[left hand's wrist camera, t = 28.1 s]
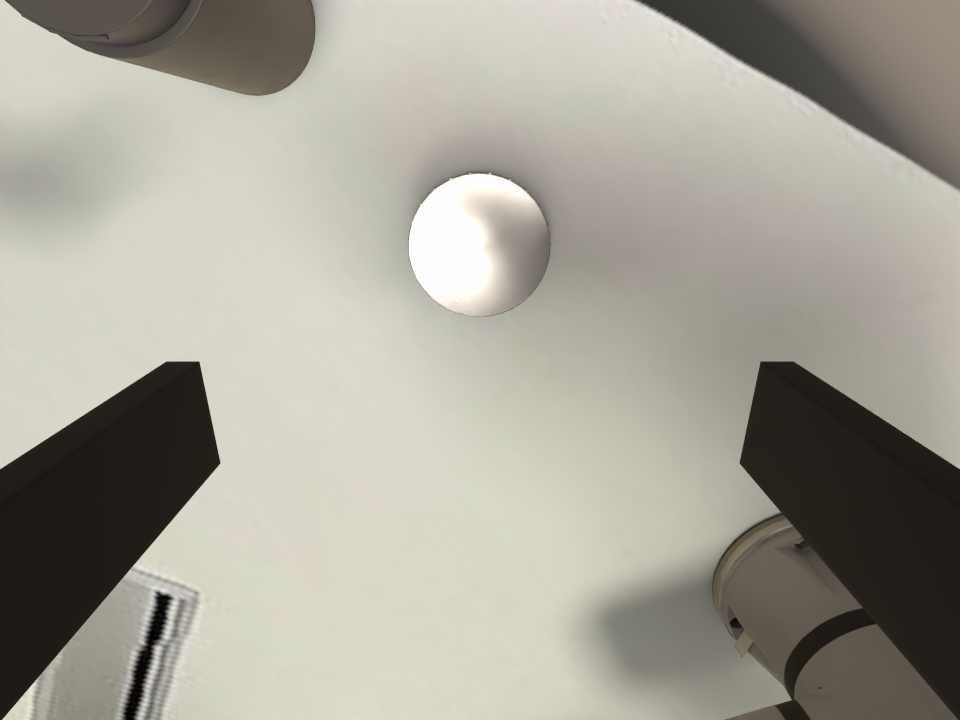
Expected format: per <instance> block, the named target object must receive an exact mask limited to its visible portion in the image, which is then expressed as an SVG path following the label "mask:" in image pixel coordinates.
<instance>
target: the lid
mask: <svg viewBox="0 0 960 720" xmlns="http://www.w3.org/2000/svg"><path fill="white" fill-rule="evenodd" d="M433 190H434V191H432V192H431V193H430V194H429V195H428V196H427V197H426V199H425V200H424V201H423V202H422V203H420V207H419V208H418V210H417V212H416V214H415V216H414V218H413V221H412V222H411V223H412V224H411V228H410V233H409V240H408V242H409V243H408V247H409V257H410V262H411V266H412V269H413V272H414V274H415V276H416V278H417V280H418V282H419V283H420V285H421V287H422V288H423V289H424V290H425V292H426V293H427V294H428V295H429V296H430V297H431V298H432V299H433V300H434V301H435V302H437V303H438V304H440V305H441V306H443V307H445V308H446V309H448V310H450V311H453V312H455V313H458V314H462V315H466V316H474V317H486V316H493V315H497V314H500V313H503V312H506V311H508V310H511V309H512V308H514V307H516V306H518V305H519V304H520V303H522V302H523V301H524V300H526V299H527V298H528V297H529V296H530V295H531V294H532V292H533V291H534V290H535V289H536V287H537V286H538V284H539V283H540V281H541V280H542V278H543V275H544V273H545V271H546V268H547V264H548V261H549V255H550V244H551V243H550V236H549V230H548V226H547V225H548V223H547V222H546V220H545V217H544V215H543V213H542V211H541V209H540V205H538V204H537V203H536V202H535V200H534V199H533V198H532V197H531V196H530V195H529V194H528V193H527V190H526V189H523V188H521V187H520V186H519V185H517V184H516V183H514V182H512V181H511V179H510V178H508V179H506V178H504V177H502V176H498V175H495V174H491V172H489V173H471V172H469V174H464V175H460V176H457V177H454V178H453V177H451V178H450V180H448V181H446V182H445V183H443V184H442V185H440V186H439V187H437V188H436V187H435V188H434V189H433Z"/></svg>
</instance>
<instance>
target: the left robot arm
mask: <svg viewBox="0 0 960 720" xmlns="http://www.w3.org/2000/svg"><path fill="white" fill-rule="evenodd" d="M219 464H220V459H219V454H218V449H217V445H216V440H215V435H214V430H213V425H212V420H211V416H210V411H209V406H208V401H207V396H206V392H205V387H204V382H203V377H202V372H201V367H200V363H199V362H165V363H164V364H162V365H161V366H159V367H157V368H156V369H154V370H153V371H151V372H150V373H148V374H147V375H145V376H144V377H142V378H141V379H139V380H137V381H136V382H134V383H133V384H131V385H130V386H128V387H127V388H125V389H124V390H122V391H120V392H119V393H117V394H116V395H114V396H113V397H111V398H110V399H108V400H107V401H105V402H103V403H102V404H100V405H99V406H97V407H96V408H94V409H93V410H91V411H90V412H88V413H87V414H85V415H83V416H82V417H80V418H79V419H77V420H76V421H74V422H73V423H71V424H70V425H68V426H66V427H65V428H63V429H62V430H60V431H59V432H57V433H56V434H54V435H53V436H51V437H49V438H48V439H46V440H45V441H43V442H42V443H40V444H39V445H37V446H36V447H34V448H33V449H31V450H29V451H28V452H26V453H25V454H23V455H22V456H20V457H19V458H17V459H16V460H14V461H12V462H11V463H9V464H8V465H6V466H5V467H3V468H2V469H0V720H2V719H3V718H4V717H5V716H6V714H7V713H8V712H9V711H10V710H11V709H12V707H13V706H14V705H15V704H16V703H17V701H18V700H19V699H20V698H21V697H22V696H23V694H24V693H25V692H26V691H27V690H28V689H29V687H30V686H31V685H32V684H33V683H34V682H35V680H36V679H37V678H38V677H39V676H40V674H41V673H42V672H43V671H44V670H45V669H46V667H47V666H48V665H49V664H50V663H51V662H52V660H53V659H54V658H55V657H56V656H57V655H58V653H59V652H60V651H61V650H62V649H63V647H64V646H65V645H66V644H67V643H68V642H69V640H70V639H71V638H72V637H73V636H74V635H75V633H76V632H77V631H78V630H79V629H80V628H81V626H82V625H83V624H84V623H85V622H86V620H87V619H88V618H89V617H90V616H91V615H92V613H93V612H94V611H95V610H96V609H97V608H98V606H99V605H100V604H101V603H102V602H103V601H104V599H105V598H106V597H107V596H108V595H109V593H110V592H111V591H112V590H113V589H114V588H115V586H116V585H117V584H118V583H119V582H120V581H121V579H122V578H123V577H124V576H125V575H126V574H127V572H128V571H129V570H130V569H131V568H132V566H133V565H134V564H135V563H136V562H137V561H138V559H139V558H140V557H141V556H142V555H143V554H144V552H145V551H146V550H147V549H148V548H149V546H150V545H151V544H152V543H153V542H154V541H155V539H156V538H157V537H158V536H159V535H160V534H161V532H162V531H163V530H164V529H165V528H166V527H167V525H168V524H169V523H170V522H171V521H172V519H173V518H174V517H175V516H176V515H177V514H178V512H179V511H180V510H181V509H182V508H183V507H184V505H185V504H186V503H187V502H188V501H189V500H190V498H191V497H192V496H193V495H194V494H195V492H196V491H197V490H198V489H199V488H200V487H201V485H202V484H203V483H204V482H205V481H206V480H207V478H208V477H209V476H210V475H211V474H212V473H213V471H214V470H215V469H216V468H217V467H218V465H219ZM740 464H741V465H742V467H743V468H744V469H745V470H746V471H747V473H748V474H749V475H750V476H751V477H752V478H753V480H754V481H755V482H756V483H757V484H758V485H759V487H760V488H761V489H762V490H763V491H764V492H765V494H766V495H767V496H768V497H769V498H770V500H771V501H772V502H773V503H774V504H775V505H776V507H777V508H778V509H779V510H780V511H781V512H782V514H783V515H781V516H778V517H775V518H773V519H770V520H768V521H766V522H764V523H762V524H760V525H758V526H756V527H755V528H753V529H752V530H750V531H749V532H747V533H746V534H745V535H743V536H742V537H741V538H740V539H739V540H738V541H737V542H736V543H735V544H734V545H733V546H732V547H731V548H730V549H729V550H728V551H727V553H726V554H725V556H724V557H723V558H722V560H721V562H720V564H719V566H718V568H717V571H716V573H715V577H714V582H713V599H714V603H715V606H716V609H717V611H718V613H719V614H720V616H721V618H722V620H723V622H724V624H725V626H726V628H727V630H728V631H729V633H730V634H731V635H732V637H733V638H734V639H735V640H736V643H735V644H734V645H735V646H736V648H737V650H738V652H739V654H740V656H741V658H742V657H743V656H744V654H745V653H746V651H748V652H749V653H750V654H751V655H752V656H753V657H754V658H755V659H756V660H757V661H758V662H759V663H760V664H762V665H763V666H764V667H765V668H766V669H767V670H768V671H769V672H770V673H771V674H772V675H773V676H774V677H775V678H776V679H777V680H778V681H779V682H780V683H781V684H782V685H783V686H784V687H785V689H786V690H787V692H788V694H789V695H790V697H791V699H792V700H791V701H788V702H784V703H781V704H778V705H773V706H770V707H766V708H763V709H759V710H756V711H753V712H749V713H746V714H743V715H739V716H736V717H733V718H729V719H726V720H960V469H958V468H957V467H955V466H954V465H952V464H951V463H949V462H948V461H946V460H944V459H943V458H941V457H940V456H938V455H937V454H935V453H934V452H932V451H931V450H929V449H927V448H926V447H924V446H923V445H921V444H920V443H918V442H917V441H915V440H914V439H912V438H911V437H909V436H907V435H906V434H904V433H903V432H901V431H900V430H898V429H897V428H895V427H894V426H892V425H890V424H889V423H887V422H886V421H884V420H883V419H881V418H880V417H878V416H877V415H875V414H873V413H872V412H870V411H869V410H867V409H866V408H864V407H863V406H861V405H860V404H858V403H857V402H855V401H853V400H852V399H850V398H849V397H847V396H846V395H844V394H843V393H841V392H840V391H838V390H836V389H835V388H833V387H832V386H830V385H829V384H827V383H826V382H824V381H823V380H821V379H819V378H818V377H816V376H815V375H813V374H812V373H810V372H809V371H807V370H806V369H804V368H803V367H801V366H799V365H798V364H796V363H795V362H761V363H760V367H759V372H758V377H757V382H756V387H755V392H754V396H753V401H752V406H751V411H750V416H749V420H748V425H747V430H746V435H745V440H744V445H743V449H742V454H741V459H740Z"/></svg>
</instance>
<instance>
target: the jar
mask: <svg viewBox="0 0 960 720" xmlns="http://www.w3.org/2000/svg"><path fill="white" fill-rule="evenodd" d="M5 1H6V2H7V3H9V4H10V5H11V6H12V7H13V8H14V9H16V10H17V11H18V12H19V13H20V14H21V15H22V16H23V17H25V18H26V19H28V20H30V21H32V22H34V23H35V24H37V25H39V26H41V27H43V28H45V29H46V30H48V31H49V32H52V33H55V34H58V35H59V36H61V37H62V38H64V39H66V40H67V41H69V42H70V43H72V44H74V45H76V46H78V47H80V48H82V49H84V50H87V51H89V52H92V53H95V54H98V55H101V56H105V57H109V58H112V59H116V60H120V61H123V62H127V63H131V64H135V65H138V66H142V67H146V68H149V69H153V70H157V71H160V72H164V73H168V74H171V75H175V76H179V77H182V78H186V79H190V80H193V81H197V82H201V83H204V84H208V85H212V86H215V87H219V88H223V89H226V90H230V91H234V92H237V93H241V94H246V95H256V96H259V95H268V94H272V93H275V92H278V91H280V90H282V89H284V88H285V87H287V86H289V85H290V84H291V83H292V82H294V81H295V80H296V79H297V77H298V76H299V75H300V74H301V73H302V71H303V70H304V68H305V67H306V65H307V63H308V60H309V58H310V55H311V52H312V49H313V44H314V37H315V19H314V13H313V7H312V4H311V0H5Z"/></svg>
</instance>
